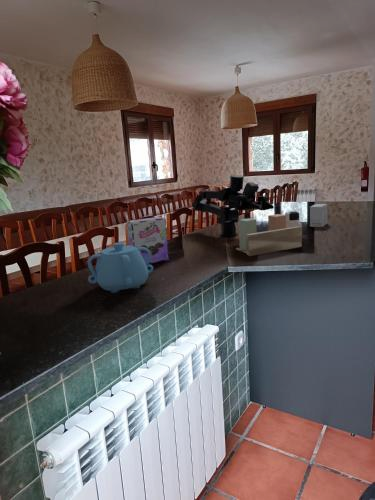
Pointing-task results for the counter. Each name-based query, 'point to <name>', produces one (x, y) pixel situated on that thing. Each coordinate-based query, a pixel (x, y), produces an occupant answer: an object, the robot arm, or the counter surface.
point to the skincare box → (318, 215)
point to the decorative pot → (120, 267)
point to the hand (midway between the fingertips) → (266, 207)
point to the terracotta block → (276, 222)
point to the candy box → (149, 237)
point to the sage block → (246, 230)
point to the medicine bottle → (292, 219)
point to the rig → (273, 241)
